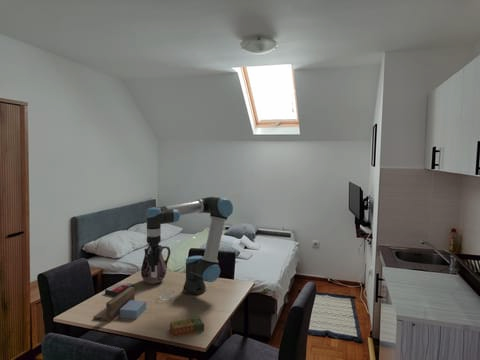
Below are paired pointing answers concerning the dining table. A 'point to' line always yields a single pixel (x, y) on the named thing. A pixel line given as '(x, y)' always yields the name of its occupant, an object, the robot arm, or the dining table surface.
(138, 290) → the dining table surface
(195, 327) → the carton
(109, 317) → the brown long angled block
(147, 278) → the ceramic pitcher
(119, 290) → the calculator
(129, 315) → the slate block
